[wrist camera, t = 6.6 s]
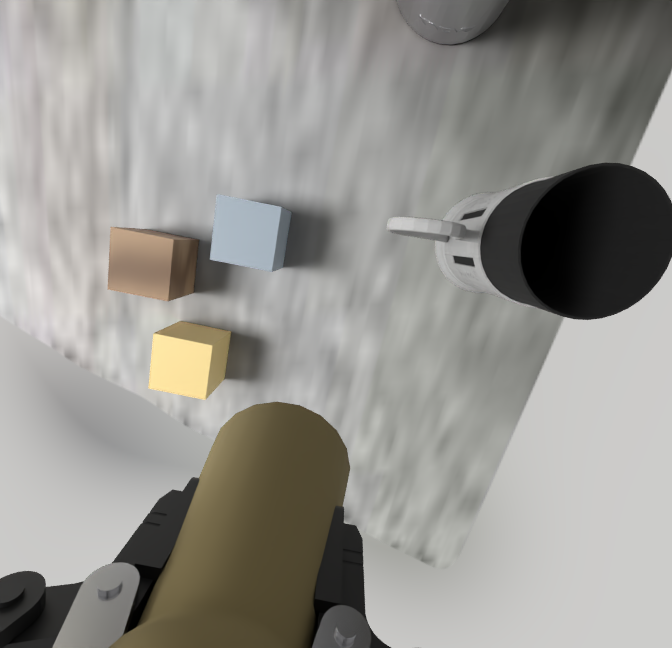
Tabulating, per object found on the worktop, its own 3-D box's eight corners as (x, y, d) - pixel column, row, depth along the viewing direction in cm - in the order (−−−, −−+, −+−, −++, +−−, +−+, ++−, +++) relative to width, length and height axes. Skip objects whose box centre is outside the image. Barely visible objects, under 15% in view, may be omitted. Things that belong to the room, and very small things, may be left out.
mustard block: (180, 320, 35) (153, 333, 30) (231, 331, 35) (212, 345, 30) (175, 368, 36) (148, 388, 31) (224, 378, 36) (205, 399, 31)
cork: (350, 403, 15) (350, 836, 4) (349, 527, 16) (346, 1098, 5) (205, 400, 15) (-160, 803, 4) (216, 523, 16) (-40, 1061, 6)
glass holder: (521, 298, 33) (657, 342, 19) (368, 278, 33) (382, 307, 19) (545, 198, 31) (718, 160, 17) (382, 178, 31) (411, 122, 17)
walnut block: (145, 229, 33) (110, 226, 28) (199, 239, 33) (173, 239, 28) (142, 282, 34) (107, 289, 29) (193, 292, 34) (168, 301, 29)
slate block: (236, 201, 32) (216, 194, 27) (291, 212, 32) (281, 206, 27) (230, 257, 33) (209, 259, 29) (283, 267, 33) (271, 271, 29)
